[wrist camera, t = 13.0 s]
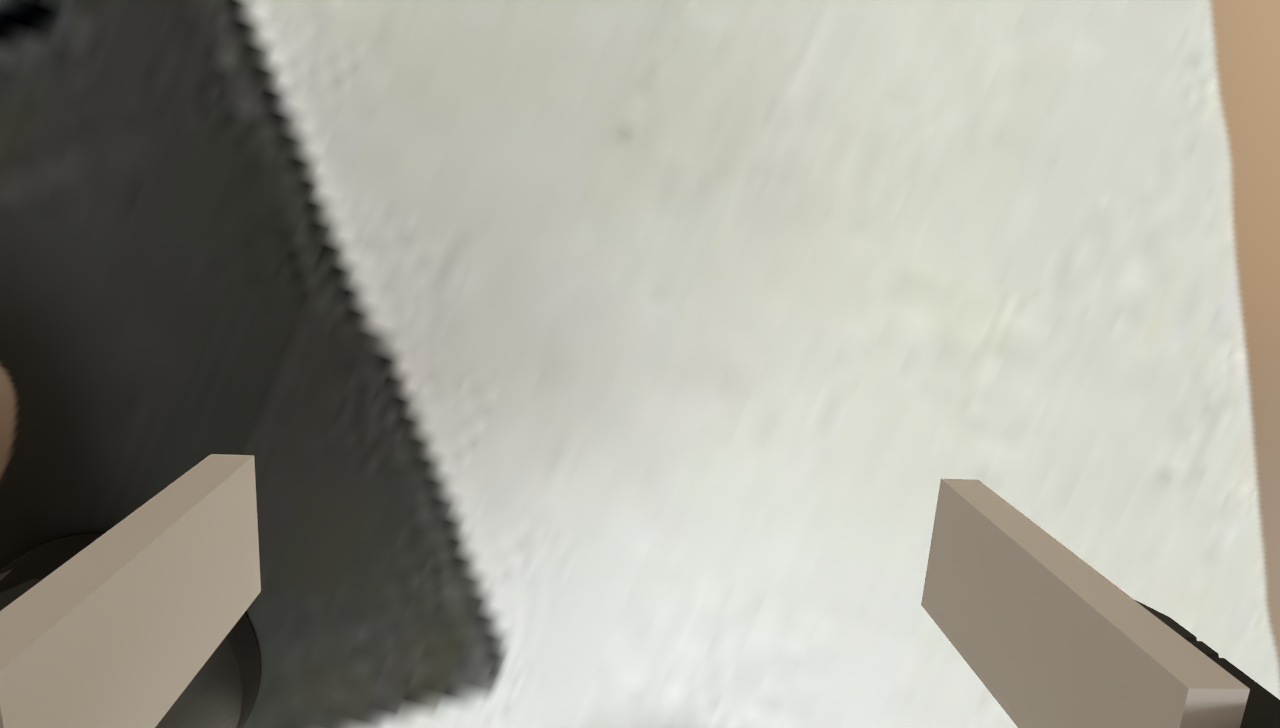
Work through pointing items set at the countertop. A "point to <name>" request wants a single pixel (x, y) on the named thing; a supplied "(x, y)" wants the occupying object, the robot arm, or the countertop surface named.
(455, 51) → the countertop surface
